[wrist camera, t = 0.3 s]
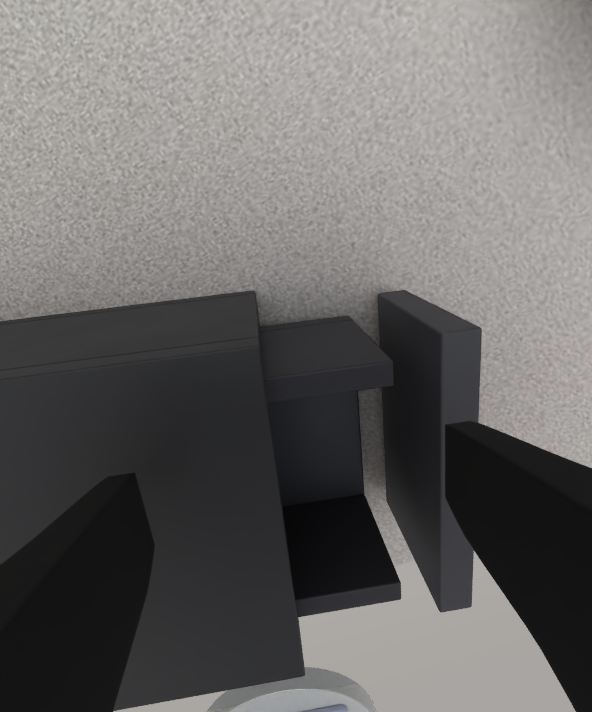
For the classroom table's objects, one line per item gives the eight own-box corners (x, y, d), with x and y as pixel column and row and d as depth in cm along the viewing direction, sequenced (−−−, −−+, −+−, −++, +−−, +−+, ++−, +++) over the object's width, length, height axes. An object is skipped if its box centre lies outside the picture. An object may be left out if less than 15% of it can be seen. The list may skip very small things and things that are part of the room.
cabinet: (254, 289, 18) (259, 345, 10) (285, 515, 22) (305, 676, 14) (-56, 328, 17) (-297, 418, 10) (31, 555, 21) (-92, 749, 13)
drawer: (433, 286, 18) (523, 322, 12) (433, 493, 21) (504, 602, 15) (125, 324, 17) (59, 383, 11) (175, 534, 21) (145, 665, 15)
